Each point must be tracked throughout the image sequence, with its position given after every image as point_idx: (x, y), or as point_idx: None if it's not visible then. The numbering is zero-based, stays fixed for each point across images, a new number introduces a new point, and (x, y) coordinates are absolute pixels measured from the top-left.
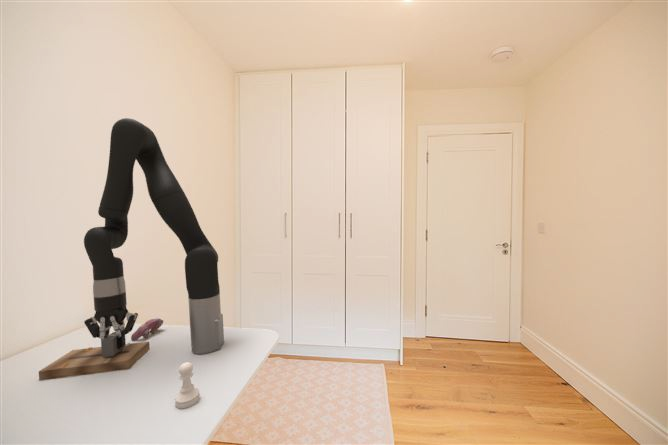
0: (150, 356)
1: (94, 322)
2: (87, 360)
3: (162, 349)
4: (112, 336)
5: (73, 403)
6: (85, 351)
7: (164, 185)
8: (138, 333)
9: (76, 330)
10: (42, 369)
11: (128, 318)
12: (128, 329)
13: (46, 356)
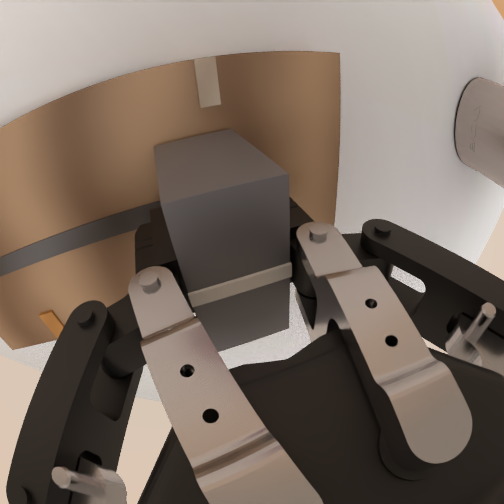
0: (350, 141)
1: (117, 486)
2: (109, 279)
3: (374, 79)
4: (254, 300)
5: (256, 360)
6: None
7: None
8: None
9: None
10: (7, 341)
11: (464, 357)
12: (400, 296)
13: None
